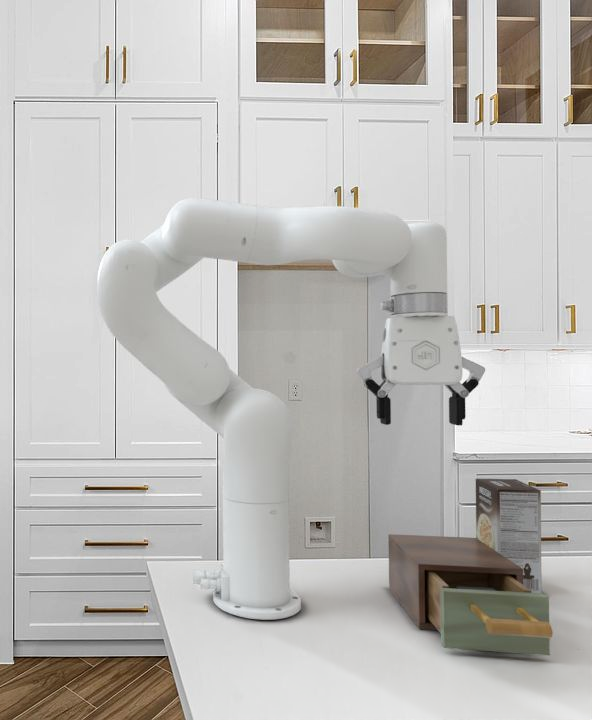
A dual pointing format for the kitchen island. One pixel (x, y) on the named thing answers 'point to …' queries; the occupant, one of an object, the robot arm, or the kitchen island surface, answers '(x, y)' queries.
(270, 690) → the kitchen island surface
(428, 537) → the cabinet
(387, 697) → the kitchen island surface
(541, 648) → the drawer
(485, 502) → the coffee box
